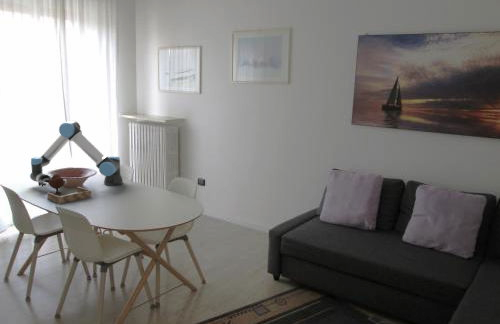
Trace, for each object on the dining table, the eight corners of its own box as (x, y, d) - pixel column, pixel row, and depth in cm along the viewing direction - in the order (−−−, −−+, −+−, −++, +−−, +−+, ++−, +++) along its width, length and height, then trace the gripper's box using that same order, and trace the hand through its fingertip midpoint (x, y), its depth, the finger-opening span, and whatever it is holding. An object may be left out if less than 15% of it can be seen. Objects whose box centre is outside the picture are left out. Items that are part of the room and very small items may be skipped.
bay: (78, 192, 314) (78, 186, 313) (91, 197, 304) (90, 190, 303) (47, 199, 295) (47, 192, 294) (59, 204, 285) (59, 197, 284)
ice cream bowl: (46, 194, 308) (44, 175, 305) (59, 191, 317) (57, 172, 315) (55, 196, 303) (54, 176, 300) (68, 193, 313) (67, 174, 310)
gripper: (59, 180, 331) (73, 185, 318) (27, 186, 311) (40, 191, 298) (58, 171, 329) (72, 175, 316) (26, 176, 310) (40, 181, 297)
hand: (57, 183), depth 307 cm, fingers open, 13 cm apart
